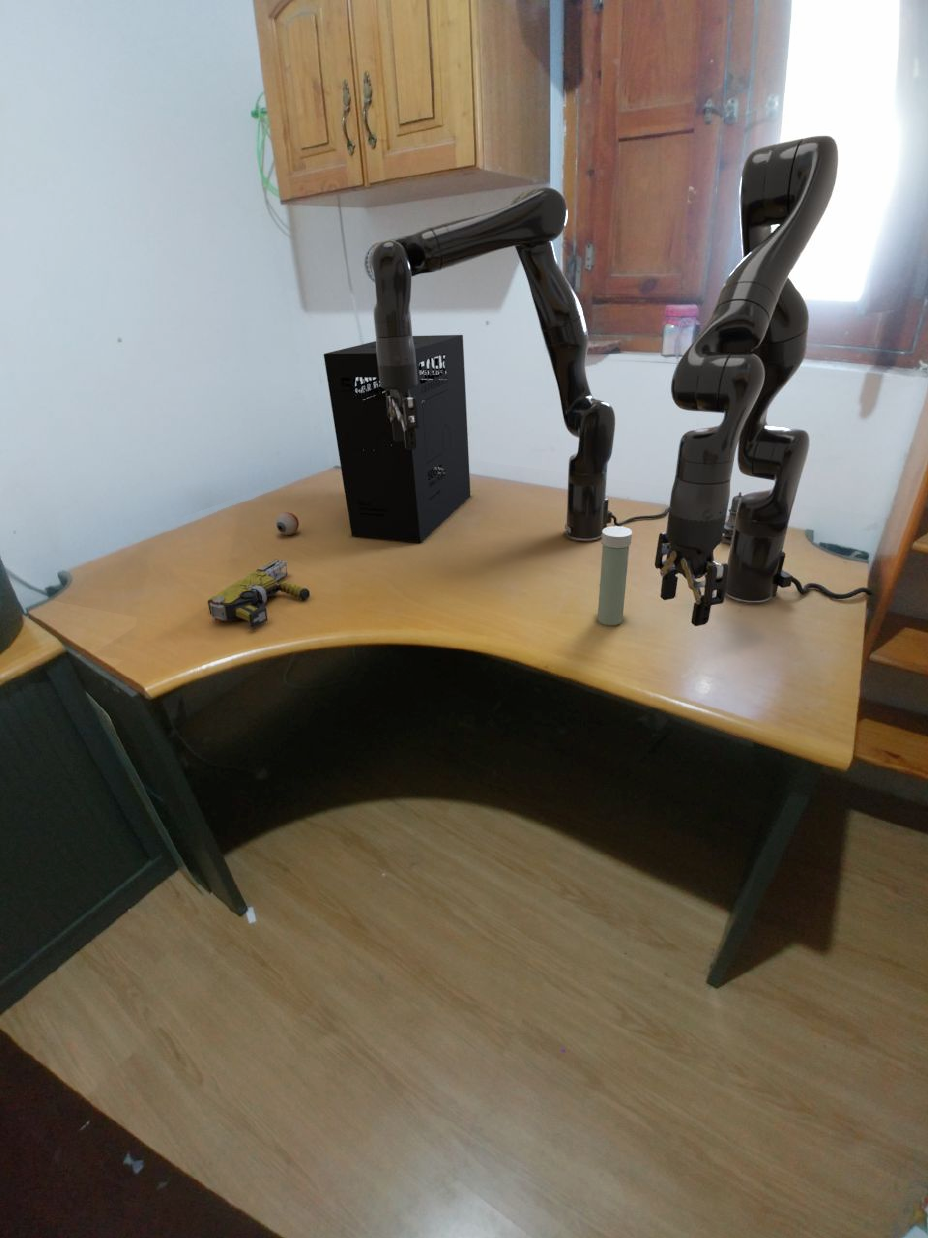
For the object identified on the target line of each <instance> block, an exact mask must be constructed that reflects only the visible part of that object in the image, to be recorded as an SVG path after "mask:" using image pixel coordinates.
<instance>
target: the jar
mask: <svg viewBox="0 0 928 1238" xmlns="http://www.w3.org/2000/svg"><path fill="white" fill-rule="evenodd" d="M601 551H602V552H601V565H600V579H599V595H598V608H597V620H598V622H599V623H601V624H603V625H605V626H616V625H620V624H622V622H623V619H624V609H625V608H624V607H625V599H626V598H625V597H626V588H627V586H626V585H627V575H628V566H629V555H630V546H628V547H625V548H610V547H607V546H605V545H603V544H602V550H601Z"/></svg>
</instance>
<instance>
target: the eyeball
mask: <svg viewBox="0 0 928 1238" xmlns="http://www.w3.org/2000/svg"><path fill="white" fill-rule="evenodd" d="M299 525H300V522H299V519H298V517H297V516H296V515H295V514H294V513H292V512H287V511H286V512H282V513H280V514H279V515H278V516H277V517H276V520H275V527H276V529H277V530H278V531H279V532H280V533H281V534H282V535H285V536H286V535H287V536H289V535H293V534H295V533H296V532H297V531H298V529H299Z"/></svg>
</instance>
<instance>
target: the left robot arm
mask: <svg viewBox="0 0 928 1238" xmlns="http://www.w3.org/2000/svg"><path fill="white" fill-rule="evenodd" d="M568 217H569V209H568V204H567V201H566V199H565V198H564V196H563V195H562V194H561V192H559V190H557V189H555V188H553V187H548V186H540V187H535V188H531V189H528V190H525V191H522V192H520V193H518V194H517V195H515V196H514V198H513V199H512V200H511V202H510V204H509V205H507V206H505V207H503V208H502V207H501V208H499V209H496V210H493V211H490V212H489V211H488V212H486V213H482V214H477V215H472V216H468V217H463V218H462V217H461V218H459V219H454V220H449V221H446V222H443V223H440V224H436V225H433V226H429V227H426V228H423V229H421V230H419V231H416V232H415V233H412V234H409V235H404V236H400V237H395V238H391V239H387V240H384V241H379V242H375V243H373V244H372V245H371V246H370V247H369V248H368V249H367V251H366V252H365V255H364V257H363V258H364V259H363V268H364V271H365V274H366V276H367V278H369V280H371V282H373V283H374V287H375V298H376V299H375V300H376V301H375V304H374V307H373V325H374V333H375V341H376V354H377V363H378V372H379V380H380V381H379V383H380V386H381V388H383V389H385V391H384V392H385V393H386V404H387V416H388V418H390V421H391V423H392V428H393V437H394V440H395V441H403V440H405V448H406V449H407V450H412V449H416V447H417V446H416V435H415V430H416V428H419V422H418V413H417V403H416V397H415V396H413V397H411V396H410V392H409V389H410V388H411V387H415V386H416V385H417V384H418V380H417V369H416V357H415V347H414V342H413V336H414V335H413V328H412V316H411V310H410V309H411V297H412V277H415V276H418V275H423V274H430V273H435V272H439V271H442V270H445V269H449V268H452V267H454V266H455V267H456V266H458V265H461V264H463V263H466V262H469V261H471V260H474V259H477V258H479V257H482V256H485V255H488V254H491V253H495V252H498V251H500V250H504V249H507V248H511V247H514V249H515V250H516V253H517V256H518V258H519V260H520V263H521V266H522V268H523V271H524V274H525V277H526V280H527V283H528V286H529V291H530V295H531V298H532V301H533V305H534V308H535V311H536V315H537V319H538V324H539V328H540V331H541V334H542V337H543V341H544V345H545V349H546V352H547V355H548V357H549V361H550V365H551V369H552V372H553V375H554V378H555V381H556V384H557V386H556V387H557V389H558V395H559V401H560V406H561V412H562V418H563V422H564V426H565V428H566V429H567V431H568V432H569V434H571V435H572V436H573V437H576V438H578V447H577V452H576V453H574V454H572V455H570V456H569V459H568V468H567V469H568V473H567V501H566V502H567V503H566V523H565V524H564V530H565V536H566V537H567V538H568V539H570V540H572V541H576V542H583V543H584V542H586V543H587V542H594V541H599V540H600V539H602V530H603V529H604V528H606V527H608V524H611V523H612V519H613V524H614V526H622V525H625V524H628V523H629V522H632V521H636V520H645V519H657V518H662V517H664V516H665V515H667V514H668V513H669V507H670V506H668V507H667V508H666V509H665V510H664V511H663V512H661V513H658V514H652V515H638V516H637V515H636V516H632V517H630V518H628V519H626V520H624V521H622V522H618V520H617V517H616V515H614V514H613V512H612V511H610V510H609V498H607V497H606V493H607V477H608V465H609V461H610V460H611V458H612V454H613V448H614V439H615V430H616V414H615V410H614V408H613V406H612V405H611V404H610V403H608V402H606V401H604V400H600V399H597V398H594V397H593V395H592V394H593V393H592V392H591V389H590V386H589V381H588V378H587V373H586V363H587V356H588V349H589V333H588V327H587V323H586V319H585V315H584V311H583V308H582V305H581V302H580V300H579V297H578V295H577V294H576V292H575V290H574V289H573V287H572V285H571V284H570V282H569V280H568V279H567V277H566V276H565V274H564V272H563V271H562V269H561V267H560V263H559V261H558V259H557V256H556V252H555V248H554V244H553V242H554V241H555V240H557V239H558V238H559V237H560V236H561V234H562V233H563V232H564V230H565V228H566V227H567V222H568ZM409 420H410V421H411V423H409Z"/></svg>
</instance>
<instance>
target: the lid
mask: <svg viewBox="0 0 928 1238" xmlns="http://www.w3.org/2000/svg"><path fill="white" fill-rule="evenodd" d="M632 538H633V530H632V529H631V528H628V527H626V526H622V525H620V526H616V525H611V526H607V527H606V528H604V529H603V530H602V538H601V544H602V546H603V545H605V546H607V547H610V548H625V547H628V546H629V547H630V545H631V544H632Z"/></svg>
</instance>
